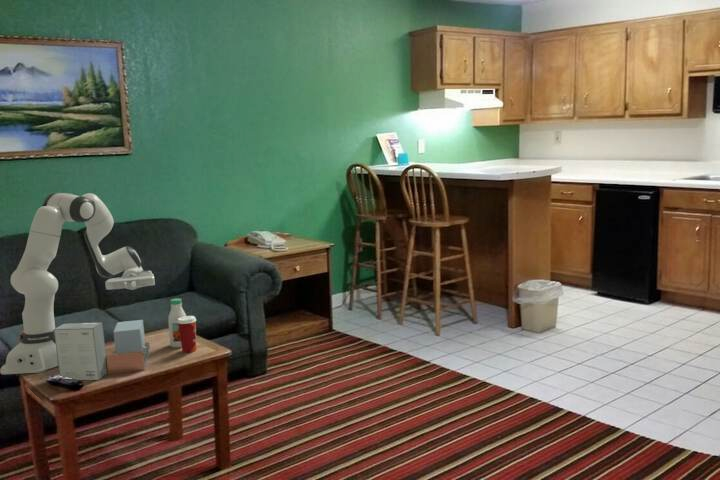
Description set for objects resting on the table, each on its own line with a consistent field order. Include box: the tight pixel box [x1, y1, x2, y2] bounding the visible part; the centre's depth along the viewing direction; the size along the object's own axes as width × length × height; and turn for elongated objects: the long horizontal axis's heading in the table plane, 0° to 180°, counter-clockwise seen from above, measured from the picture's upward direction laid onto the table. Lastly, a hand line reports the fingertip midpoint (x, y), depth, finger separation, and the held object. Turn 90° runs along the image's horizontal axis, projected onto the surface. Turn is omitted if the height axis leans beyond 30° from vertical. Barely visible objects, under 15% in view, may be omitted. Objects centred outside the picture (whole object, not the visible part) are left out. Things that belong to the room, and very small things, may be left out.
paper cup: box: [177, 315, 197, 354], centre depth 268 cm, size 8×8×14 cm
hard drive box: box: [54, 322, 108, 381], centre depth 243 cm, size 16×8×20 cm, turn 84°
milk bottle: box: [167, 297, 187, 348], centre depth 276 cm, size 8×8×20 cm
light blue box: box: [113, 319, 146, 354], centre depth 266 cm, size 10×14×9 cm
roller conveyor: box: [106, 342, 150, 375], centre depth 261 cm, size 13×28×7 cm, turn 14°
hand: (128, 286), depth 276 cm, fingers closed
